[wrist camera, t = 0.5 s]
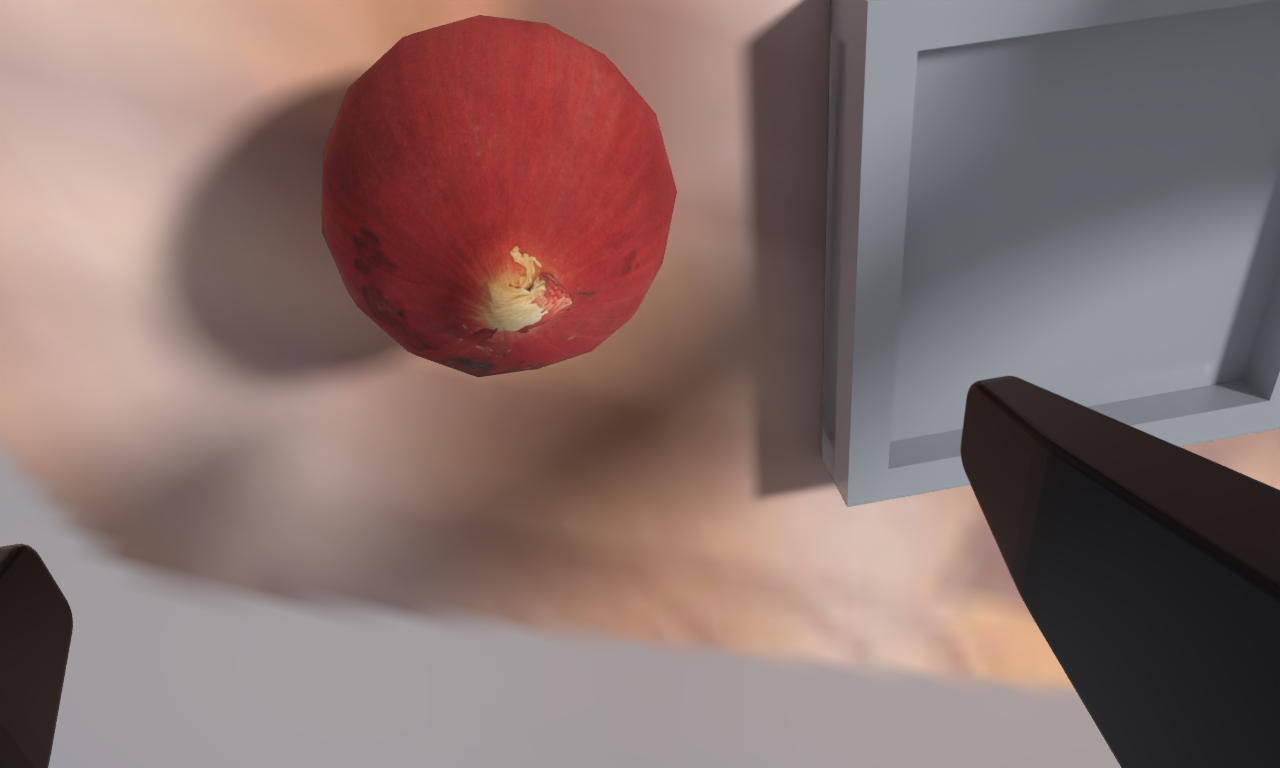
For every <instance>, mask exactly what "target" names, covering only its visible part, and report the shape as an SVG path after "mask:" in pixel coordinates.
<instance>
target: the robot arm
mask: <svg viewBox="0 0 1280 768" xmlns="http://www.w3.org/2000/svg"><path fill="white" fill-rule="evenodd" d="M960 451H961V460H962V464H963V468H964V471H965V473H966V475H967V478H968V480H969V482H970V484H971V487H972V489H973V491H974V493H975V496H976V498H977V500H978V502H979V505H980V507H981V509H982V511H983V514H984V516H985V518H986V520H987V523H988V525H989V527H990V529H991V532H992V534H993V536H994V538H995V541H996V543H997V545H998V547H999V550H1000V552H1001V554H1002V557H1003V559H1004V561H1005V563H1006V566H1007V568H1008V570H1009V572H1010V575H1011V577H1012V579H1013V581H1014V583H1015V585H1016V587H1017V589H1018V591H1019V593H1020V595H1021V597H1022V599H1023V601H1024V603H1025V605H1026V606H1027V608H1028V610H1029V612H1030V614H1031V615H1032V617H1033V619H1034V620H1035V622H1036V624H1037V626H1038V627H1039V629H1040V631H1041V632H1042V634H1043V636H1044V637H1045V639H1046V641H1047V642H1048V644H1049V646H1050V648H1051V649H1052V651H1053V653H1054V654H1055V656H1056V658H1057V659H1058V661H1059V663H1060V664H1061V666H1062V668H1063V670H1064V671H1065V673H1066V675H1067V676H1068V678H1069V680H1070V681H1071V683H1072V685H1073V686H1074V688H1075V690H1076V692H1077V693H1078V695H1079V697H1080V698H1081V700H1082V702H1083V703H1084V705H1085V707H1086V708H1087V710H1088V712H1089V714H1090V715H1091V717H1092V719H1093V720H1094V722H1095V724H1096V725H1097V727H1098V729H1099V730H1100V732H1101V734H1102V735H1103V737H1104V739H1105V741H1106V742H1107V744H1108V746H1109V747H1110V749H1111V751H1112V752H1113V754H1114V756H1115V758H1116V759H1117V761H1118V763H1119V764H1120V766H1121V768H1280V490H1278V489H1276V488H1274V487H1271V486H1269V485H1267V484H1264V483H1262V482H1260V481H1257V480H1255V479H1253V478H1250V477H1248V476H1246V475H1243V474H1241V473H1239V472H1236V471H1234V470H1232V469H1229V468H1227V467H1225V466H1222V465H1220V464H1218V463H1215V462H1213V461H1211V460H1209V459H1206V458H1204V457H1202V456H1199V455H1197V454H1195V453H1192V452H1190V451H1188V450H1185V449H1183V448H1181V447H1178V446H1176V445H1174V444H1171V443H1169V442H1167V441H1164V440H1162V439H1160V438H1157V437H1155V436H1153V435H1150V434H1148V433H1146V432H1143V431H1141V430H1139V429H1137V428H1134V427H1132V426H1130V425H1127V424H1125V423H1123V422H1120V421H1118V420H1116V419H1113V418H1111V417H1109V416H1106V415H1104V414H1102V413H1099V412H1097V411H1095V410H1092V409H1090V408H1088V407H1085V406H1083V405H1081V404H1078V403H1076V402H1074V401H1071V400H1069V399H1067V398H1065V397H1062V396H1060V395H1058V394H1055V393H1053V392H1051V391H1048V390H1046V389H1044V388H1041V387H1039V386H1037V385H1034V384H1032V383H1030V382H1027V381H1025V380H1023V379H1020V378H1018V377H1015V376H1003V377H997V378H991V379H985V380H979V381H976V382H975V383H973V384H972V385H971V386H970V388H969V390H968V393H967V398H966V406H965V414H964V422H963V430H962V438H961V448H960ZM72 629H73V620H72V613H71V609H70V606H69V604H68V602H67V600H66V599H65V597H64V595H63V593H62V592H61V590H60V588H59V587H58V585H57V584H56V582H55V580H54V579H53V577H52V575H51V574H50V572H49V571H48V569H47V567H46V566H45V564H44V562H43V561H42V559H41V557H40V556H39V555H38V553H37V552H36V551H35V550H34V549H32V547H30V546H28V545H24V544H15V545H9V546H3V547H0V768H48V765H49V760H50V756H51V750H52V744H53V738H54V733H55V727H56V721H57V716H58V710H59V704H60V699H61V693H62V687H63V682H64V676H65V670H66V664H67V659H68V653H69V647H70V642H71V635H72Z"/></svg>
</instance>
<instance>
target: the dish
mask: <svg viewBox="0 0 1280 768" xmlns="http://www.w3.org/2000/svg"><path fill="white" fill-rule="evenodd" d="M1003 376H1015V377H1018V378H1020V379H1023V380H1025V381H1027V382H1030V383H1032V384H1034V385H1037V386H1039V387H1041V388H1044V389H1046V390H1048V391H1051V392H1053V393H1055V394H1058V395H1060V396H1062V397H1065V398H1067V399H1069V400H1071V401H1074V402H1076V403H1078V404H1081V405H1083V406H1085V407H1088V408H1090V409H1092V410H1095V411H1097V412H1099V413H1102V414H1104V415H1106V416H1109V417H1111V418H1113V419H1116V420H1118V421H1120V422H1123V423H1125V424H1127V425H1130V426H1132V427H1134V428H1137V429H1139V430H1141V431H1143V432H1146V433H1148V434H1150V435H1153V436H1155V437H1157V438H1160V439H1162V440H1164V441H1167V442H1169V443H1171V444H1174V445H1176V446H1178V447H1181V446H1186V445H1192V444H1197V443H1203V442H1208V441H1214V440H1219V439H1225V438H1230V437H1236V436H1241V435H1247V434H1252V433H1258V432H1263V431H1269V430H1274V429H1280V0H831V26H830V75H829V124H828V173H827V222H826V272H825V321H824V370H823V419H822V460H823V462H824V464H825V465H826V467H827V469H828V471H829V473H830V475H831V477H832V479H833V481H834V483H835V485H836V487H837V489H838V490H839V492H840V494H841V496H842V498H843V500H844V502H845V504H846V506H847V507H851V506H856V505H862V504H867V503H873V502H878V501H884V500H889V499H895V498H900V497H906V496H911V495H917V494H922V493H928V492H933V491H939V490H944V489H950V488H955V487H961V486H966V485H971V484H970V482H969V480H968V478H967V475H966V473H965V471H964V468H963V464H962V460H961V451H960V448H961V438H962V430H963V422H964V414H965V406H966V398H967V393H968V390H969V388H970V386H971V385H972V384H973V383H975V382H976V381H979V380H985V379H991V378H997V377H1003Z"/></svg>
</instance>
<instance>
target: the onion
mask: <svg viewBox="0 0 1280 768" xmlns="http://www.w3.org/2000/svg"><path fill="white" fill-rule="evenodd" d="M676 193H677V191H676V187H675V183H674V179H673V175H672V171H671V168H670V164H669V160H668V157H667V153H666V149H665V146H664V142H663V138H662V135H661V131H660V127H659V124H658V120H657V116H656V114H655V112H654V111H653V110H652V109H651V108H650V107H649V105H648V104H647V103H646V102H645V101H644V99H643V98H642V97H641V96H640V95H639V93H638V92H637V91H636V90H635V89H634V88H633V86H632V85H631V84H630V83H629V82H628V80H627V79H626V78H625V77H624V76H623V75H622V73H621V72H620V71H619V70H618V69H617V67H616V66H615V65H614V64H613V63H612V62H611V61H610V60H609V59H608V58H607V57H606V56H605V55H604V54H602V53H600V52H599V51H597V50H595V49H593V48H591V47H589V46H587V45H586V44H584V43H582V42H580V41H578V40H576V39H574V38H573V37H571V36H569V35H567V34H565V33H563V32H561V31H560V30H558V29H556V28H554V27H552V26H550V25H548V24H546V23H538V22H530V21H522V20H514V19H506V18H498V17H490V16H482V15H478V16H475V17H471V18H467V19H464V20H460V21H457V22H453V23H450V24H446V25H442V26H439V27H435V28H432V29H428V30H424V31H421V32H417V33H414V34H411V35H408V36H406V37H403V38H402V39H400V40H399V41H398V42H397V43H396V44H395V45H394V46H393V47H392V48H391V49H390V50H389V51H388V52H387V53H385V54H384V55H383V56H382V57H381V58H380V59H379V60H378V61H377V62H376V63H375V64H374V65H373V66H372V67H371V68H369V69H368V70H367V71H366V72H365V73H364V74H363V75H362V76H361V77H360V78H359V79H358V80H357V81H356V82H354V83H353V84H352V85H351V86H350V87H349V89H348V91H347V94H346V96H345V99H344V101H343V103H342V106H341V108H340V111H339V113H338V116H337V118H336V120H335V123H334V125H333V128H332V130H331V133H330V135H329V137H328V140H327V142H326V145H325V147H324V152H323V183H322V233H323V235H324V238H325V240H326V242H327V245H328V247H329V249H330V252H331V254H332V256H333V258H334V261H335V263H336V265H337V268H338V270H339V272H340V274H341V277H342V279H343V281H344V284H345V286H346V288H347V291H348V293H349V294H350V296H351V297H352V299H353V300H354V302H355V304H356V305H357V306H358V307H359V308H360V309H361V310H362V311H363V312H364V313H365V314H366V315H368V316H369V317H370V318H371V319H372V320H373V321H374V322H375V323H377V324H378V325H379V326H380V327H381V328H382V329H383V330H384V331H385V332H387V333H388V334H389V335H390V336H391V337H392V338H393V339H394V340H396V341H397V342H398V343H399V344H400V345H401V346H402V347H403V348H405V349H406V350H407V351H408V352H411V353H413V354H415V355H417V356H419V357H422V358H425V359H428V360H431V361H433V362H436V363H439V364H442V365H445V366H448V367H450V368H453V369H456V370H459V371H462V372H465V373H467V374H470V375H473V376H476V377H484V376H491V375H498V374H504V373H511V372H518V371H525V370H534V369H539V368H542V367H545V366H548V365H551V364H554V363H557V362H560V361H563V360H566V359H569V358H572V357H575V356H578V355H581V354H584V353H587V352H591V351H592V350H594V349H595V348H596V347H597V346H598V345H599V344H601V343H602V342H603V341H604V340H605V339H607V338H608V337H609V336H610V335H611V334H613V333H614V332H615V331H616V330H617V329H619V328H620V327H621V326H622V325H623V324H625V323H626V322H627V321H628V320H629V319H630V318H632V316H633V315H634V314H635V312H636V311H637V309H638V307H639V306H640V304H641V302H642V300H643V298H644V296H645V294H646V293H647V291H648V289H649V287H650V285H651V283H652V282H653V280H654V278H655V276H656V274H657V272H658V270H659V269H660V267H661V265H662V263H663V258H664V254H665V249H666V244H667V239H668V234H669V228H670V223H671V218H672V213H673V208H674V203H675V198H676Z"/></svg>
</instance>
